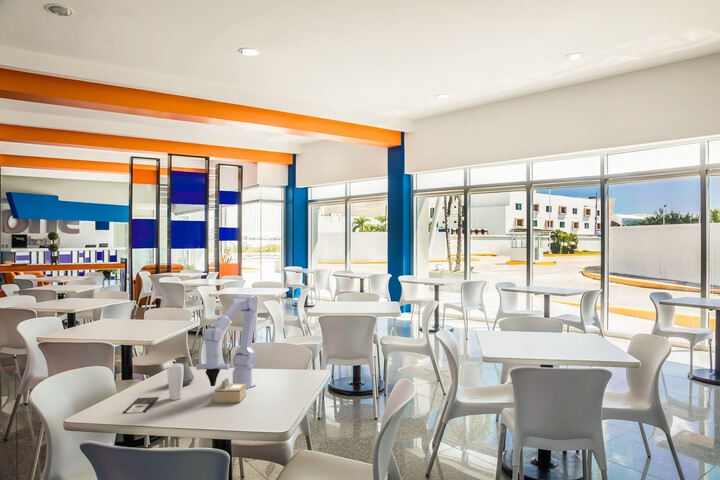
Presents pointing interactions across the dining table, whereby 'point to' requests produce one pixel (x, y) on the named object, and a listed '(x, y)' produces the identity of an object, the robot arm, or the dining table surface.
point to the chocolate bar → (141, 405)
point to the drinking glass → (175, 380)
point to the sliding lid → (229, 386)
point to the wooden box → (230, 396)
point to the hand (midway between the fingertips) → (213, 385)
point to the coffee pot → (185, 370)
